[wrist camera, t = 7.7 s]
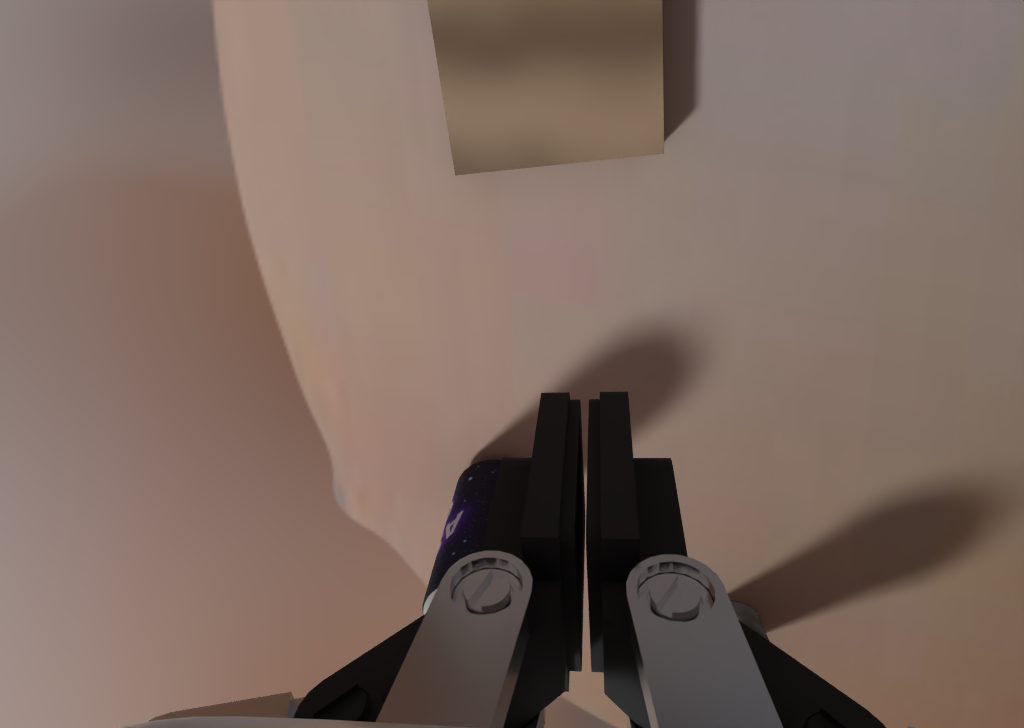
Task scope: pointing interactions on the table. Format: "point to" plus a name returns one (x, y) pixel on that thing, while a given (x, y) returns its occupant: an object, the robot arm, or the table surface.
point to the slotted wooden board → (549, 80)
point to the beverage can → (465, 521)
